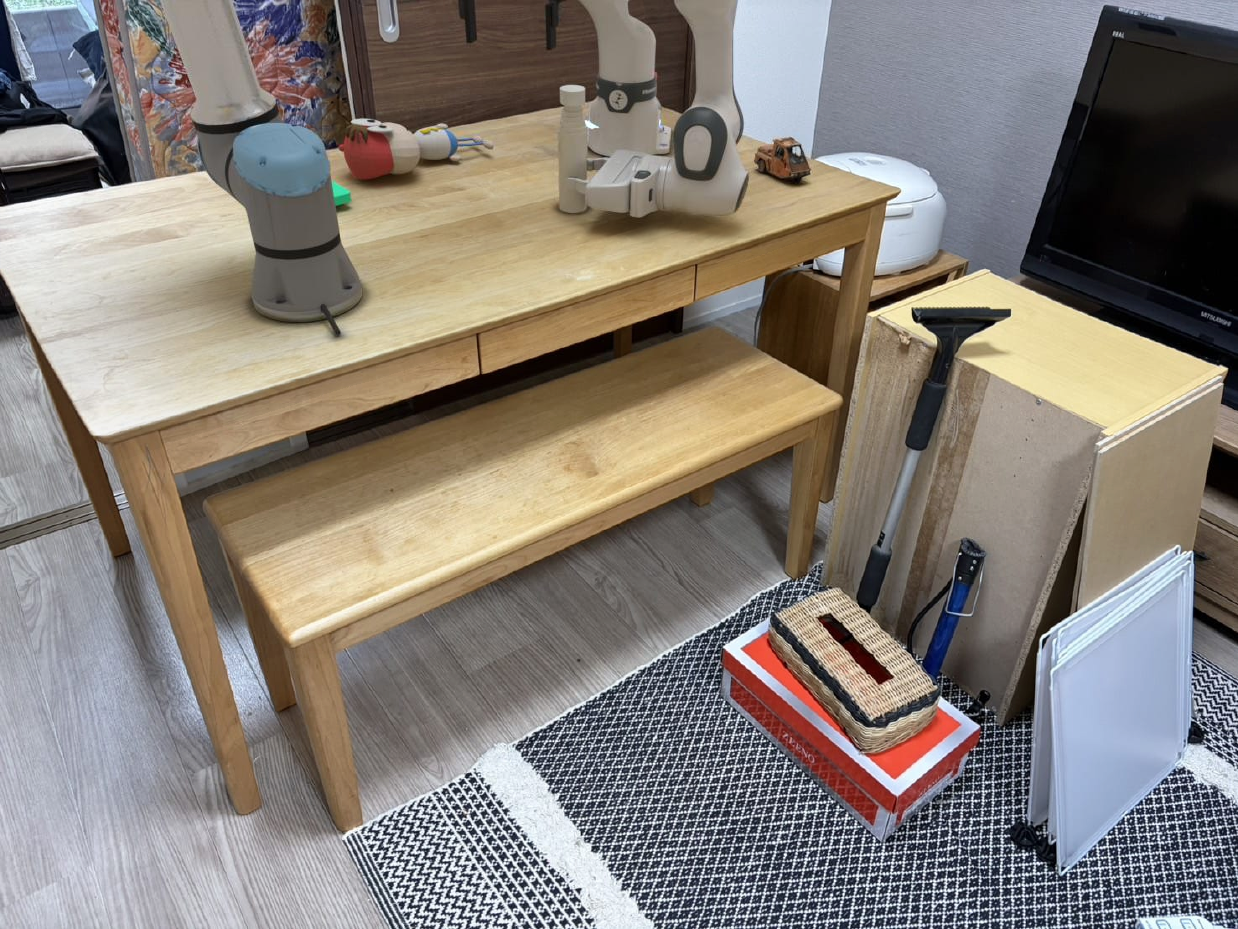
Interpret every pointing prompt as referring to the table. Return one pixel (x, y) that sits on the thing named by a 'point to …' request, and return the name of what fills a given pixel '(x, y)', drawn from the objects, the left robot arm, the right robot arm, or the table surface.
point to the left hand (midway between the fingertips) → (511, 44)
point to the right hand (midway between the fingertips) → (575, 172)
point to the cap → (572, 95)
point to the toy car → (782, 160)
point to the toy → (397, 147)
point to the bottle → (572, 157)
